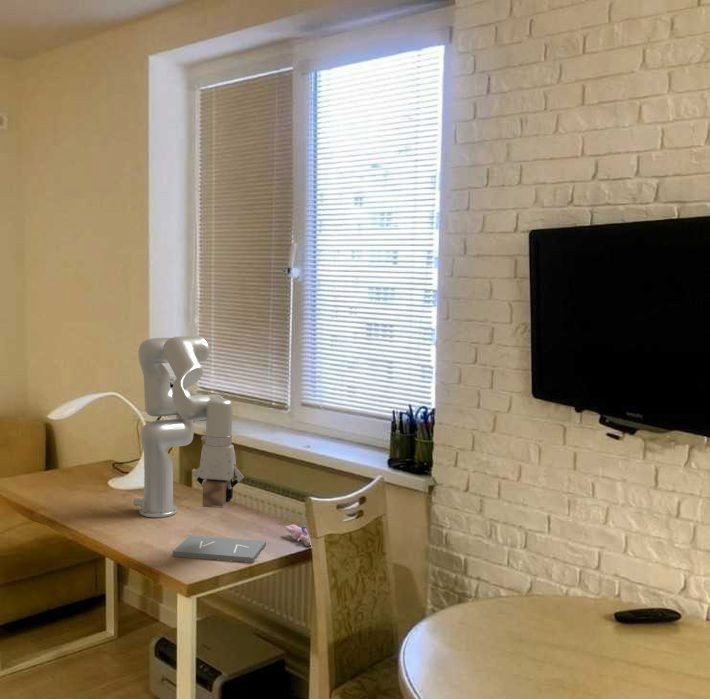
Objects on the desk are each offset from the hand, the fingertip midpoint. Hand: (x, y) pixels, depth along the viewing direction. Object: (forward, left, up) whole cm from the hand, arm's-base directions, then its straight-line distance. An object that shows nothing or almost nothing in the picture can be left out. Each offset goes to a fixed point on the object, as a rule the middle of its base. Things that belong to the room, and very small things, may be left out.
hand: (217, 499), depth 231 cm
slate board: (+2, -2, -15) cm, 15 cm away
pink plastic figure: (+23, +12, -15) cm, 30 cm away
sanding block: (0, 0, -1) cm, 1 cm away
